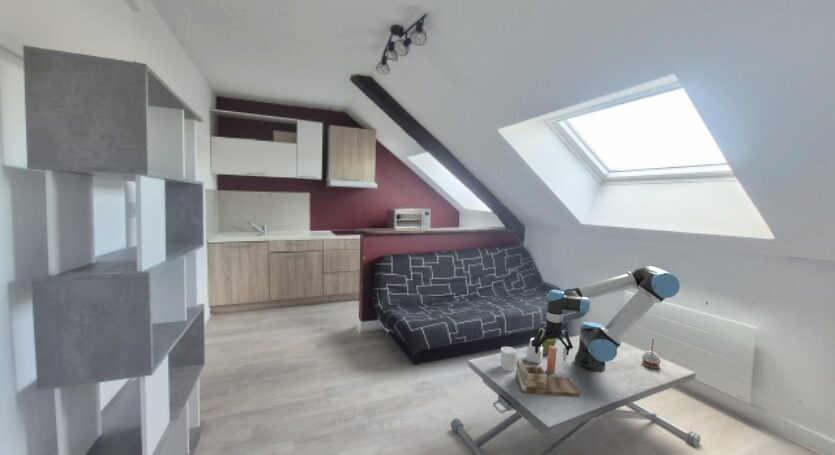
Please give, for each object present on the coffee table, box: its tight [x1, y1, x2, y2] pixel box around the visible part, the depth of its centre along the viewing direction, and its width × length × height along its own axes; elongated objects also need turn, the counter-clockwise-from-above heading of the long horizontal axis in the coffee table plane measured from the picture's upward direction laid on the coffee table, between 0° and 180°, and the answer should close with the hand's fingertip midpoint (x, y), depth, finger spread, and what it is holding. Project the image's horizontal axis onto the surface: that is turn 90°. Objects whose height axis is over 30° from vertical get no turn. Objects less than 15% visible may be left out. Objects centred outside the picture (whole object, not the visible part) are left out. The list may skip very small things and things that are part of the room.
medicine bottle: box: [526, 337, 544, 365], centre depth 189 cm, size 7×7×12 cm
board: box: [515, 359, 581, 397], centre depth 162 cm, size 26×13×10 cm, turn 87°
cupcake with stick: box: [641, 338, 662, 369], centre depth 186 cm, size 8×8×15 cm
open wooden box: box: [523, 364, 548, 388], centre depth 162 cm, size 9×9×6 cm
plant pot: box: [540, 333, 558, 354], centre depth 200 cm, size 9×9×9 cm
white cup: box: [500, 346, 517, 372], centre depth 179 cm, size 8×8×10 cm
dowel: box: [546, 346, 558, 374], centre depth 176 cm, size 4×4×13 cm
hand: (550, 359), depth 176 cm, fingers open, 13 cm apart
